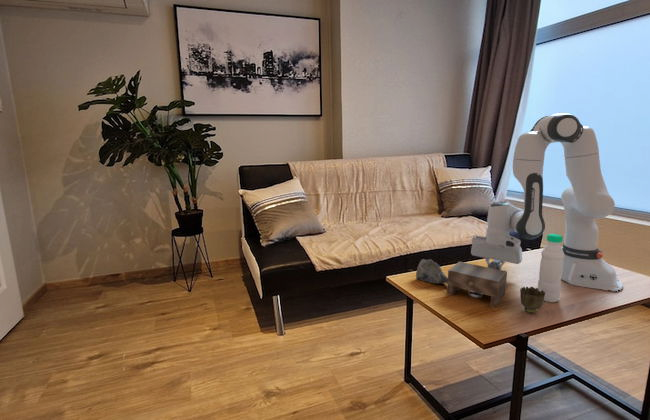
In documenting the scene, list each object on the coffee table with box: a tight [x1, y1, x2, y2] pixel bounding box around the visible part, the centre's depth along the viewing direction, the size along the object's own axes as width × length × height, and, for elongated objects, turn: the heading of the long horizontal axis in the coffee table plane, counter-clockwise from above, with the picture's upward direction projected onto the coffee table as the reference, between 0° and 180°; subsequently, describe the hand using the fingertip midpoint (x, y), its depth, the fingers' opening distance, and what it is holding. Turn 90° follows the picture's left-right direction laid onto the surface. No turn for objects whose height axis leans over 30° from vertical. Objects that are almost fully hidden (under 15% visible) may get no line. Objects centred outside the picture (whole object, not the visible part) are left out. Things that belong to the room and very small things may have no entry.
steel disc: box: [468, 290, 484, 299], centre depth 134 cm, size 5×5×2 cm
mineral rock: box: [415, 258, 448, 285], centre depth 146 cm, size 13×11×10 cm
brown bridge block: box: [446, 261, 508, 308], centre depth 133 cm, size 18×13×10 cm
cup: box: [519, 286, 545, 315], centre depth 120 cm, size 8×7×8 cm
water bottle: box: [537, 233, 564, 303], centre depth 127 cm, size 7×7×25 cm
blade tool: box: [489, 259, 503, 271], centre depth 147 cm, size 22×4×5 cm, turn 139°
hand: (494, 268), depth 153 cm, fingers closed on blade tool, 2 cm apart
